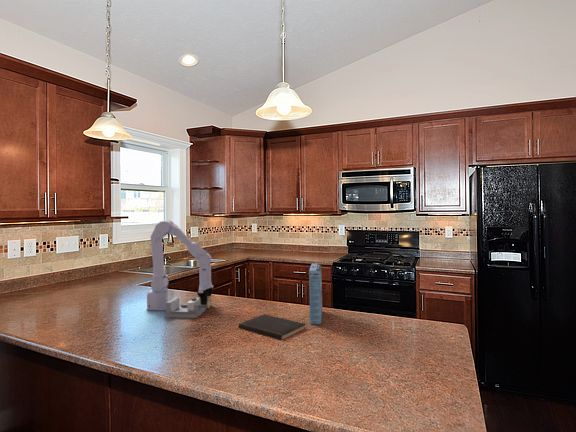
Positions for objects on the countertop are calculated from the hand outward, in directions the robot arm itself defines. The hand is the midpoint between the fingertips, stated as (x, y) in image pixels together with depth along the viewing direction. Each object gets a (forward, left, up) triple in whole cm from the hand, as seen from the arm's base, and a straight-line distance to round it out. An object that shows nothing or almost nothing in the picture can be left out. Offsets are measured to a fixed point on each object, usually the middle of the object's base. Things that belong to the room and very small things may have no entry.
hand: (205, 303), depth 176 cm
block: (0, 0, -1) cm, 1 cm away
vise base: (-6, -12, -1) cm, 13 cm away
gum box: (+56, -14, -2) cm, 58 cm away
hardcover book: (+38, -29, -2) cm, 48 cm away
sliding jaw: (-1, -12, 0) cm, 12 cm away
